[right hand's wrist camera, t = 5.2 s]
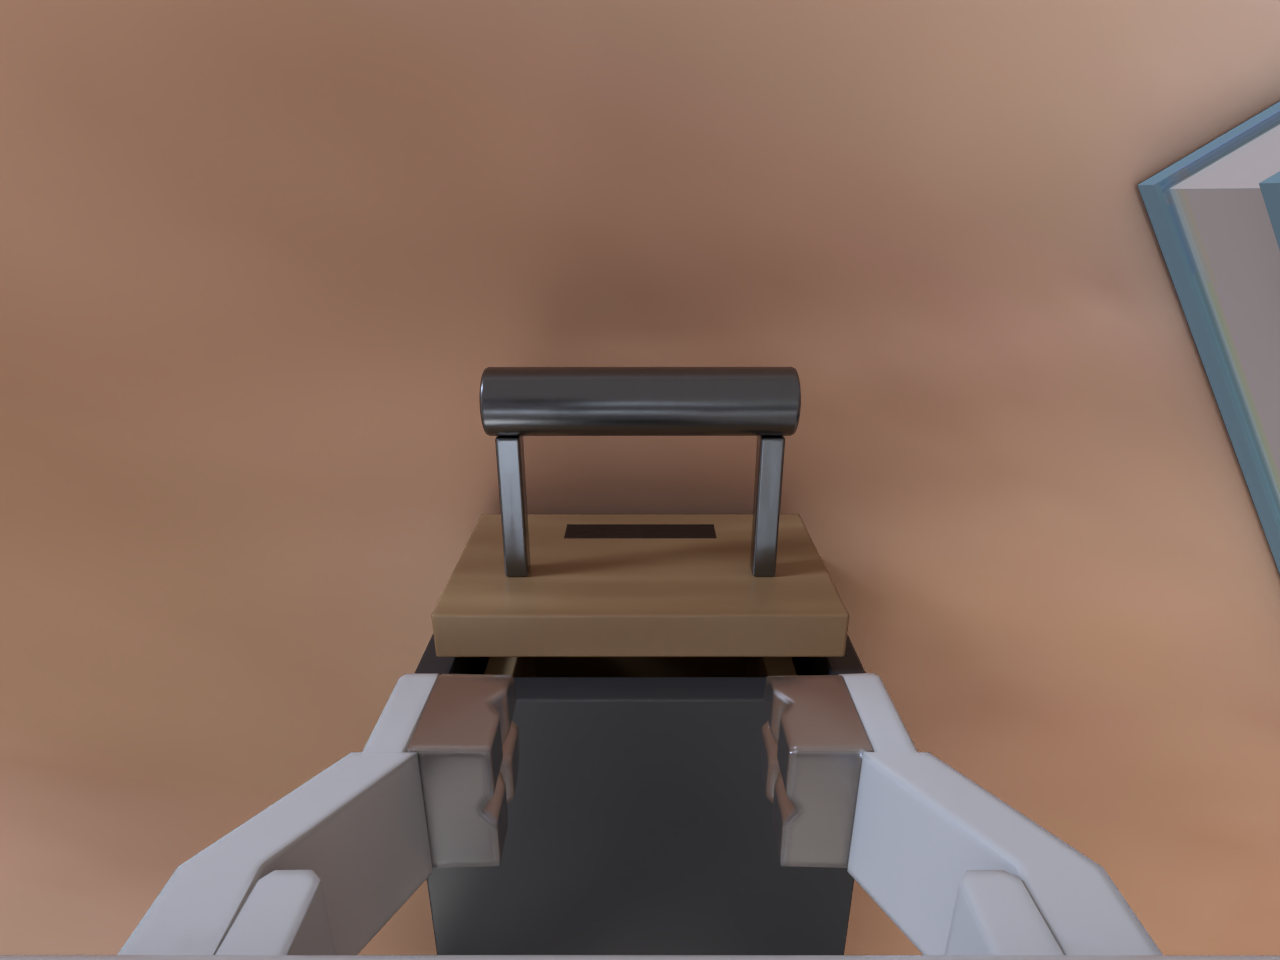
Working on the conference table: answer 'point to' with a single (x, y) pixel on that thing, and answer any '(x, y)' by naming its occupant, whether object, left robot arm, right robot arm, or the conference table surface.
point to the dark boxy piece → (640, 827)
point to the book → (1232, 286)
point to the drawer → (640, 541)
